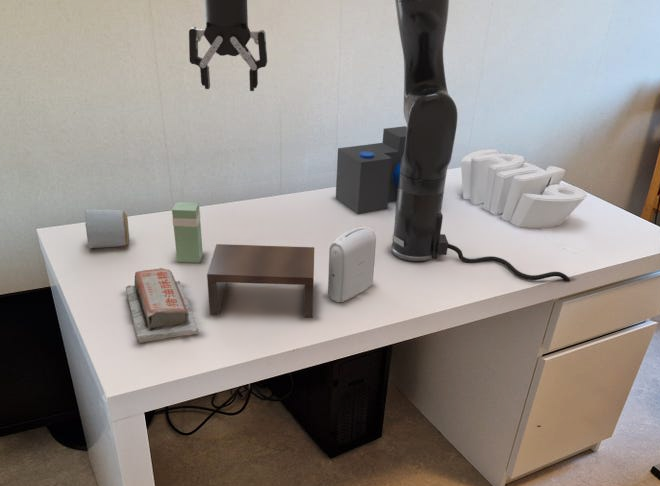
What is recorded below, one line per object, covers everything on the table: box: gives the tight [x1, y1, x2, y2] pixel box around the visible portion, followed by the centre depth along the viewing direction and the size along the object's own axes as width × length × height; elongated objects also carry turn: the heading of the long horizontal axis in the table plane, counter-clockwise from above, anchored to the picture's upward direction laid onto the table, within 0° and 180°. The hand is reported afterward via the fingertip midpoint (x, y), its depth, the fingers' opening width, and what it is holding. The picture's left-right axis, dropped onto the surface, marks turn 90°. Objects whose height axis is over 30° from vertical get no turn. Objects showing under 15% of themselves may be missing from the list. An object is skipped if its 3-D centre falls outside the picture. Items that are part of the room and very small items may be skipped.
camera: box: [335, 125, 407, 215], centre depth 159 cm, size 25×16×16 cm, turn 119°
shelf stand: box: [206, 243, 315, 319], centre depth 119 cm, size 18×12×8 cm, turn 91°
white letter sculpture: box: [460, 148, 588, 229], centre depth 162 cm, size 35×16×11 cm, turn 28°
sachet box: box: [171, 201, 204, 264], centre depth 131 cm, size 5×4×11 cm
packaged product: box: [125, 267, 199, 344], centre depth 115 cm, size 18×5×10 cm
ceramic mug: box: [84, 209, 130, 249], centre depth 136 cm, size 11×8×8 cm
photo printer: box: [327, 226, 377, 303], centre depth 122 cm, size 10×4×12 cm, turn 140°
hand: (230, 89), depth 127 cm, fingers open, 8 cm apart
